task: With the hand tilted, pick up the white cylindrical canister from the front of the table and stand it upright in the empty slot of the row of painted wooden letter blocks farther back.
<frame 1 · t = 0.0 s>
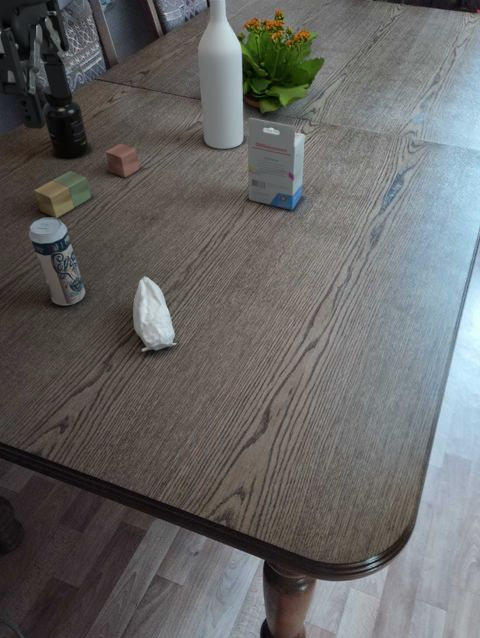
hand: (49, 111, 65), 24 cm above the table, tool pointing down, fingers open, 8 cm apart
bottle: (223, 141, 113), on the table
white cylindrical canister: (69, 297, 79), on the table
ink box: (274, 199, 98), on the table
white crumpled pouch: (157, 331, 75), on the table
supplement bottle: (72, 151, 109), on the table
potted flower: (263, 99, 128), on the table
block row: (100, 184, 101), on the table
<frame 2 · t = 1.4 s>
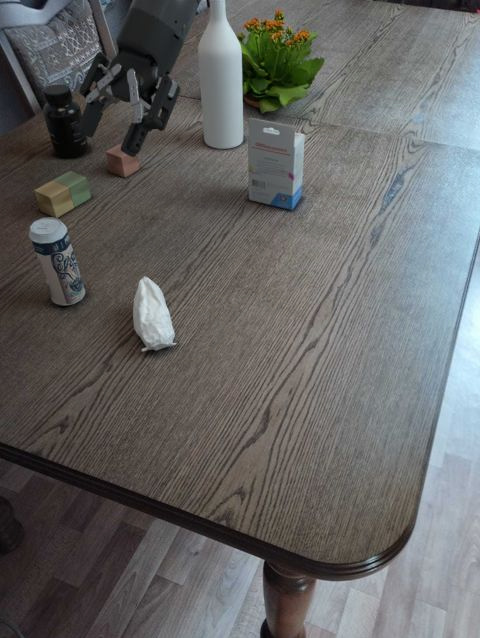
hand: (105, 144, 72), 19 cm above the table, tool tilted 45°, fingers open, 8 cm apart
nothing on the table moved.
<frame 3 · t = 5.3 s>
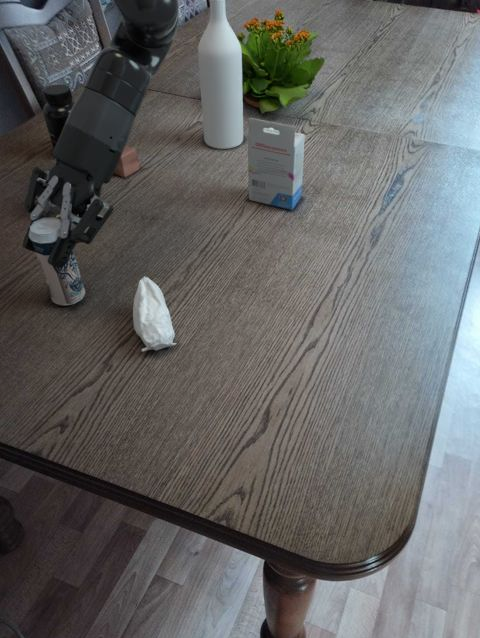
hand: (42, 257, 72), 8 cm above the table, tool tilted 45°, fingers closed on white cylindrical canister, 4 cm apart
white cylindrical canister: (69, 297, 79), on the table, touching gripper
everything else where it was.
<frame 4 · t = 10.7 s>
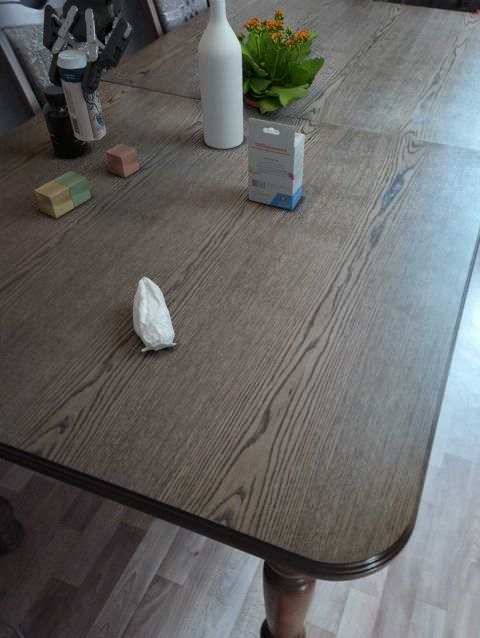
hand: (71, 87, 78), 21 cm above the table, tool tilted 45°, fingers closed on white cylindrical canister, 4 cm apart
white cylindrical canister: (91, 137, 86), point 13 cm above the table, touching gripper
everything else where it was.
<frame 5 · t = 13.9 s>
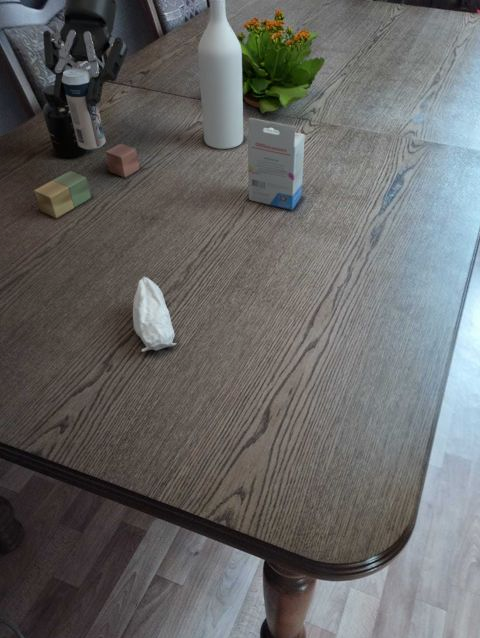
hand: (76, 101, 88), 16 cm above the table, tool tilted 45°, fingers closed on white cylindrical canister, 5 cm apart
white cylindrical canister: (92, 146, 95), point 7 cm above the table, touching gripper
everything else where it was.
when the fingers open (8 cm above the table, at t = 16.3 s): white cylindrical canister stays where it is, on the table.
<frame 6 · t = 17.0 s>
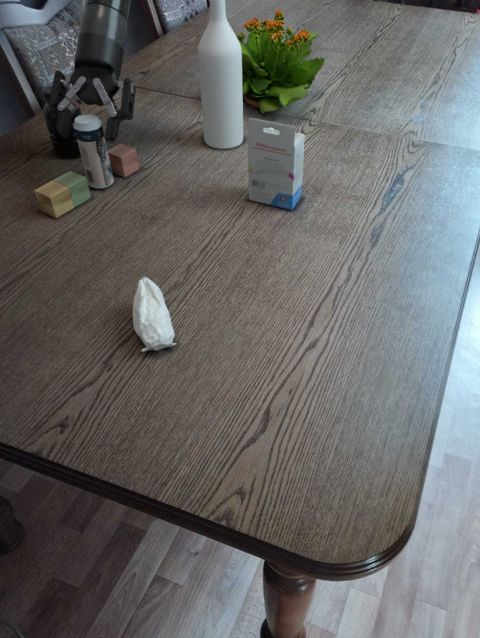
hand: (85, 139, 93), 9 cm above the table, tool tilted 45°, fingers open, 8 cm apart
white cylindrical canister: (101, 184, 101), on the table
everything else where it was.
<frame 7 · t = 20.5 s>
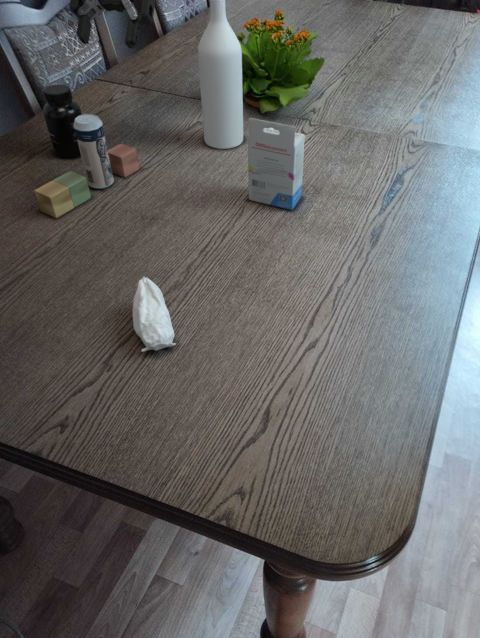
hand: (106, 43, 94), 20 cm above the table, tool tilted 45°, fingers open, 8 cm apart
nothing on the table moved.
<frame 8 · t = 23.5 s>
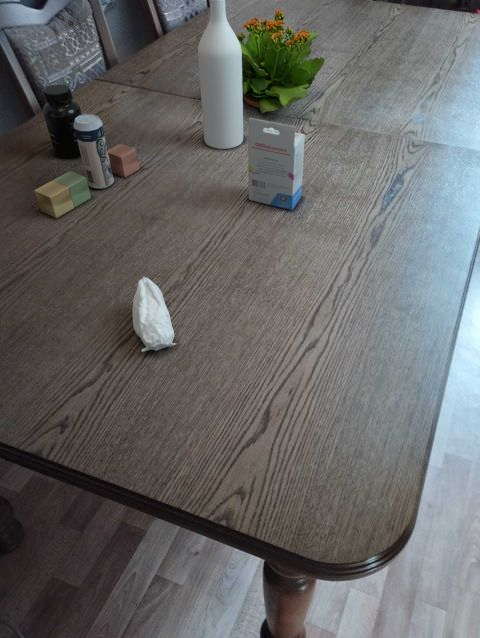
nothing on the table moved.
at the end: white cylindrical canister 0.2 cm off-centre on the block row, point 0.0 cm above the block row's base; white cylindrical canister tilted 0°; the gripper is holding nothing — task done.
